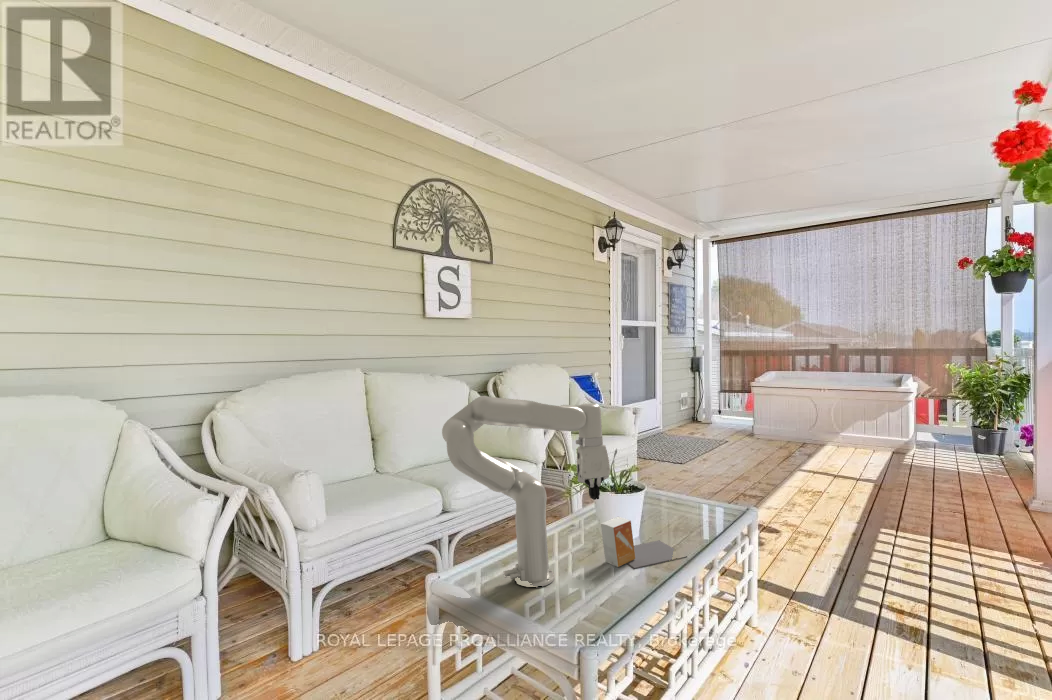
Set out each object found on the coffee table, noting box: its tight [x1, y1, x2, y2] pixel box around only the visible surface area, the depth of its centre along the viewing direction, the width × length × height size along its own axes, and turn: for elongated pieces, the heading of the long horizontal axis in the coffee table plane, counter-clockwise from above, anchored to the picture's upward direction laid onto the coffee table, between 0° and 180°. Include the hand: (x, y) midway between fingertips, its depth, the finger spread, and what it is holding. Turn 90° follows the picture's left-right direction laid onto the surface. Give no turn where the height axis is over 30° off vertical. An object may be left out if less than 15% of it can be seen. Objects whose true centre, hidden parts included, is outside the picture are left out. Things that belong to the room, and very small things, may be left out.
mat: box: [626, 540, 675, 570], centre depth 172 cm, size 20×16×1 cm
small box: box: [600, 516, 635, 568], centre depth 168 cm, size 8×6×13 cm
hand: (594, 498), depth 165 cm, fingers closed
